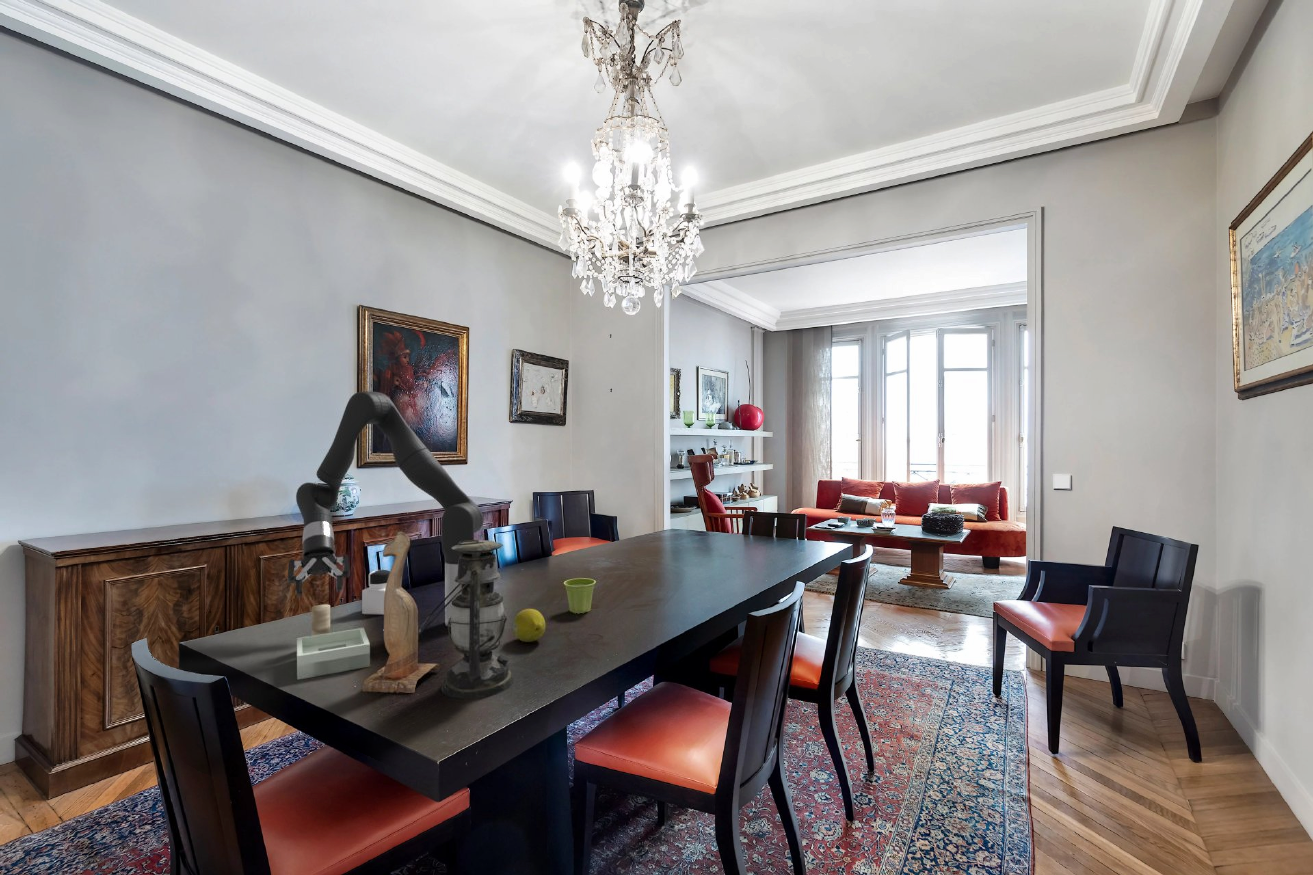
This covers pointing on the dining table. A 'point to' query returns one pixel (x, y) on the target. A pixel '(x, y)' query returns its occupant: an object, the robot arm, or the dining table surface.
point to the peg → (320, 619)
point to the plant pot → (579, 594)
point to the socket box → (332, 653)
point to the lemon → (529, 625)
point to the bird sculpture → (399, 630)
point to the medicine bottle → (375, 593)
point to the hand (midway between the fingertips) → (319, 592)
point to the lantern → (476, 625)
